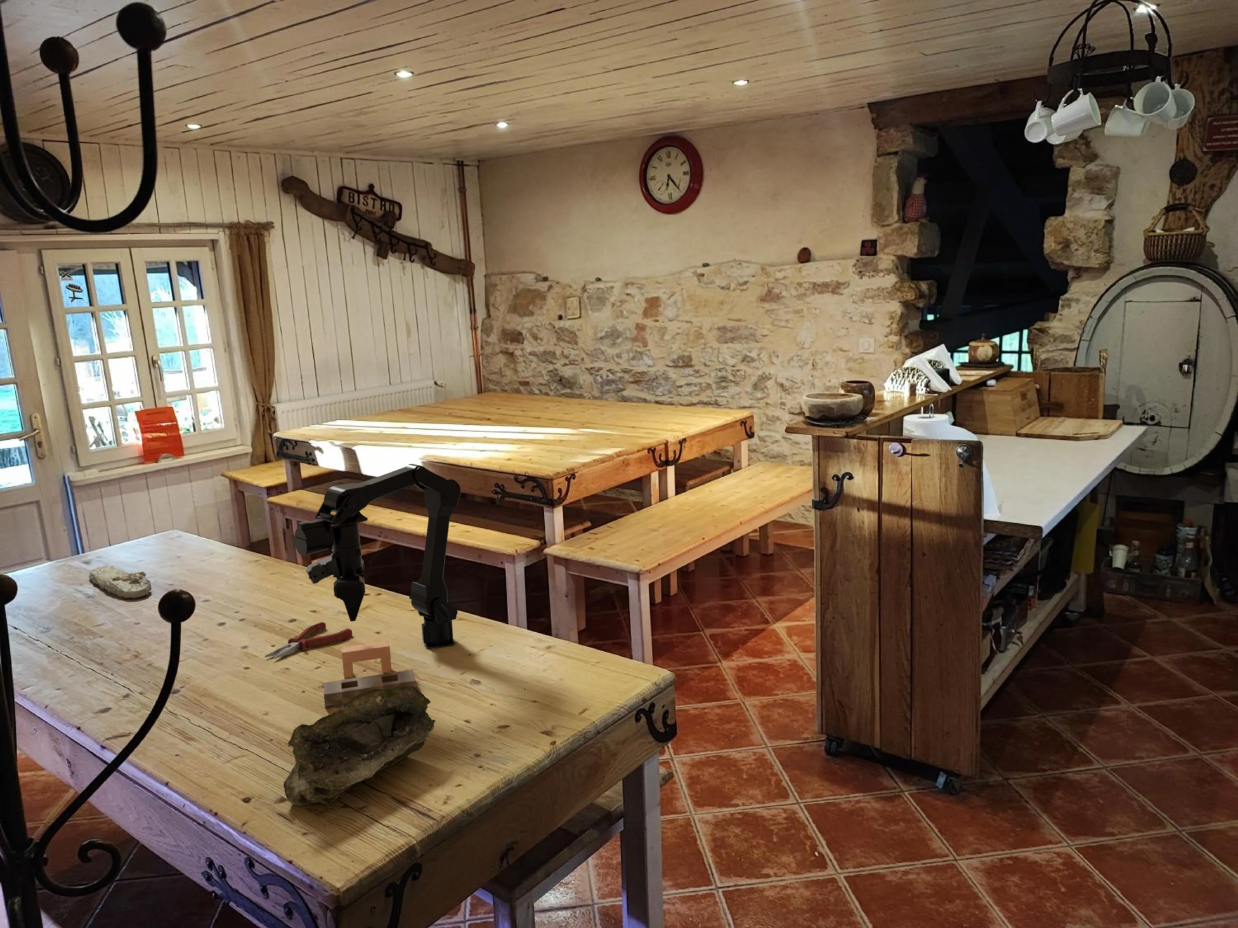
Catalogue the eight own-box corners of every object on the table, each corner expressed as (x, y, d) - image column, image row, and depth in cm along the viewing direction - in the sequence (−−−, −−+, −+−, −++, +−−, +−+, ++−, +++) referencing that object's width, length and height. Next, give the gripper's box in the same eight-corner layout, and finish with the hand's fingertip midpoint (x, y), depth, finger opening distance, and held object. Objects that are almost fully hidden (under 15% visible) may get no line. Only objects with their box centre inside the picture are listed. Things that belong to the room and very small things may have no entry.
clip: (390, 666, 199) (388, 641, 198) (391, 671, 196) (389, 646, 195) (343, 673, 196) (341, 647, 195) (344, 678, 193) (341, 652, 192)
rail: (413, 682, 190) (413, 669, 190) (416, 694, 185) (416, 680, 184) (324, 696, 185) (323, 682, 184) (325, 708, 179) (323, 694, 179)
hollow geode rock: (428, 768, 165) (392, 697, 170) (459, 738, 157) (420, 664, 162) (285, 833, 144) (249, 750, 149) (312, 802, 137) (274, 716, 142)
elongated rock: (117, 575, 277) (82, 585, 270) (113, 559, 276) (78, 568, 269) (162, 592, 253) (124, 604, 246) (158, 575, 252) (120, 585, 245)
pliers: (253, 657, 207) (252, 647, 207) (322, 629, 224) (321, 619, 224) (286, 667, 201) (285, 656, 201) (354, 637, 218) (354, 627, 218)
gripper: (308, 537, 199) (315, 604, 202) (304, 561, 181) (312, 634, 184) (360, 532, 202) (367, 598, 205) (361, 554, 184) (368, 626, 187)
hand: (353, 613), depth 195 cm, fingers open, 9 cm apart
